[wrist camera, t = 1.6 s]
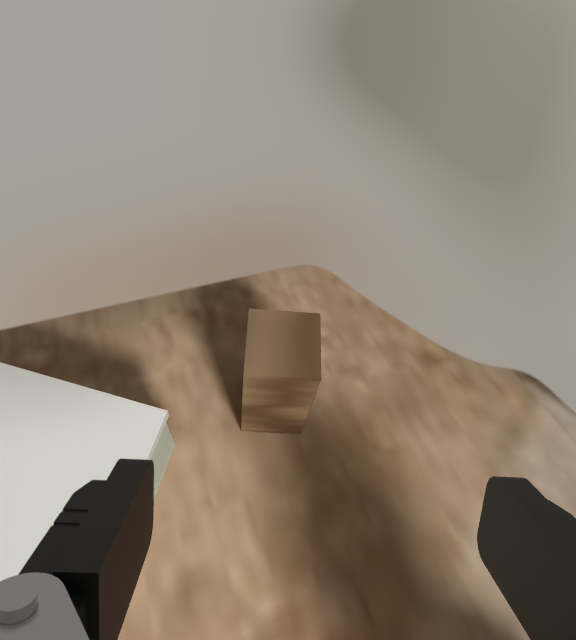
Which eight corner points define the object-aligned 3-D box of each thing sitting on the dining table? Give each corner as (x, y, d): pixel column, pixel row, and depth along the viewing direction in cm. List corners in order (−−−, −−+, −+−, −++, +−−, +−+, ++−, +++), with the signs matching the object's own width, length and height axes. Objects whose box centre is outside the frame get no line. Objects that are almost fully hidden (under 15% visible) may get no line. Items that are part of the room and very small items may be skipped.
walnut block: (241, 430, 36) (243, 374, 27) (245, 376, 38) (248, 308, 30) (300, 434, 36) (321, 379, 27) (300, 379, 38) (320, 313, 30)
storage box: (-65, 568, 29) (-140, 557, 24) (34, 402, 35) (-7, 360, 30) (108, 623, 29) (76, 626, 23) (178, 445, 35) (167, 410, 29)
